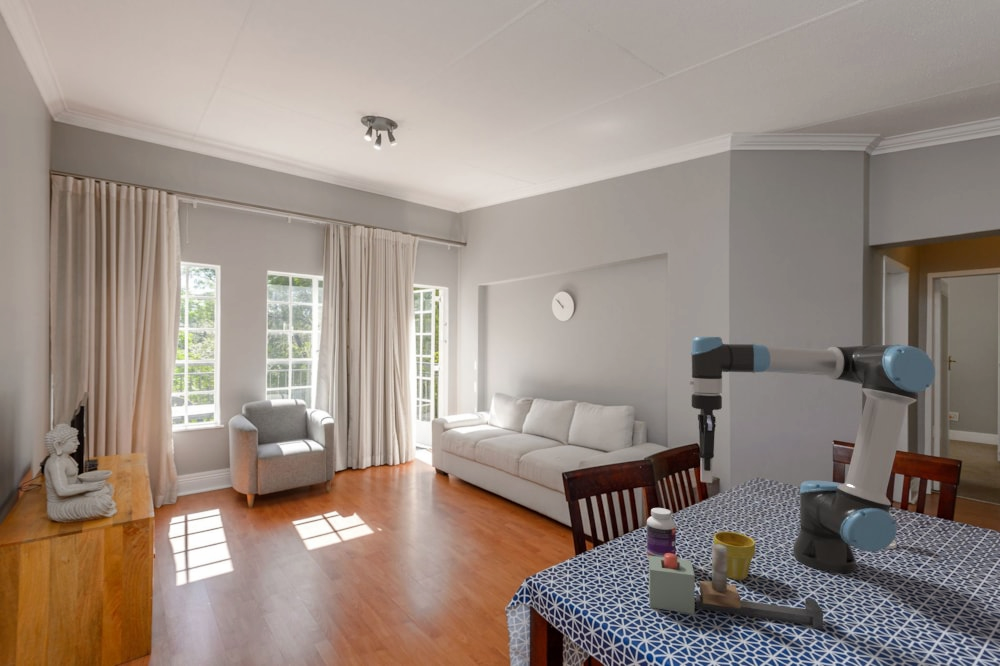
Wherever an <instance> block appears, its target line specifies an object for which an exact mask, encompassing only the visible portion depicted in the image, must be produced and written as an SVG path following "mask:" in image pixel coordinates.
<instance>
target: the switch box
mask: <svg viewBox="0 0 1000 666" xmlns="http://www.w3.org/2000/svg"><path fill="white" fill-rule="evenodd" d="M695 577H696V576H695V571H694V568H693V565H692V561H691V560H688V559H680V558H677V570H675V569H667V568H664V557H657V556H649V559H648V597H649V598H648V599H649V600H648V601H649V608H652V609H658V610H666V611H671V612H677V613H678V612H680V613H686V614H692V615H694V614H695V604H696V594H695V588H696V587H695V586H696V585H695Z"/></svg>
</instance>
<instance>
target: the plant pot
mask: <svg viewBox="0 0 1000 666" xmlns="http://www.w3.org/2000/svg"><path fill="white" fill-rule="evenodd" d="M715 544H718V545H723V546H725V547H726V548H727V578H729V579H733V580H737V581H741V580H745V579H747V578H748V575H749V571H750V566H751V563H752V559H753V558H754V557H755V556H756V542H755V540H754V539H753V538H751V536H747V535H746V534H744V533H739V532H736V531H735V532H734V531H725V530H724V531H718V532H716V533H714V535H713V545H715Z"/></svg>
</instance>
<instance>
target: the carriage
mask: <svg viewBox="0 0 1000 666" xmlns="http://www.w3.org/2000/svg"><path fill="white" fill-rule="evenodd" d="M711 557H712V558H711V578H712V579H711V581H705V580H703V581H702V580H699V592H700V593H699V594H700V595H701V597H702V601H703V603H705V604H712V605H719V606H726V607H734V608H740V600H741V595H740V594H739V591H738V589H737V587H736V585H735V584H728V577H727V548H726V547H725V546H723V545H718V544H715V545H714V544H713V545H712V547H711Z"/></svg>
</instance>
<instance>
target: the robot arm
mask: <svg viewBox="0 0 1000 666" xmlns="http://www.w3.org/2000/svg"><path fill="white" fill-rule="evenodd" d="M690 353H691V354H690V355H691V380H689V382H688V383H689V384H690V385H691V392H692V395H691V407H692V408H693V409H696V410H700V412H699V413H700V414H697V420H698V429H699V430H698V432H699V433H698V434H699V436H698V437H699V453H700V454H699V455H698V457H699V459H700V482H701V483H709V484H710V483H711V484H712V483H713V458H714V457H715V455H714V454H715V432H716V431H715V430H716V426H717V424H716V422H717V421H716V419H717V418H716V416H715V415H714V412H713V411H719V410H721V409H723V408H722V407H723V396H721V395H720V394H722V393H723V372H724V373H730V372H731V373H753V374H755V373H778V374H779V373H781V374H795V375H797V374H798V375H811V376H812V375H813V376H825V377H826V378H827V379H829V380H838V381H839V380H840V381H844V382H850V383H856V384H859V385H862V386H861V391H862V393H864V395H865V396H866V397H865V398H866V399H865V403H864V408H863V411H862V415H861V419H860V422H859V426H858V431H857V434H856V439H855V443H854V448H853V452H852V454H851V455H852V456H851V459H850V463H849V468H848V471H847V476H846V479H845V482H843V483H842V482H841V483H840V482H835V481H829V480H805V481H802V482H801V484H800V488H799V489H800V490H799V497H800V498H799V499H800V500H799V502H800V503H799V507H800V509H799V510H800V512H799V513H800V516H799V521H800V526H799V527H800V530H799V532H798V535H797V538H796V540H795V543H794V546H793V557H794V558H795V559H796V560H797V561H798V562H799V563H801V564H803V565H806V566H808V567H810V568H813V569H816V570H820V571H824V572H829V573H836V574H849V573H853V572H855V570H856V569H857V568H856V567H857V565H856V563H857V561H856V558H855V554H854V553H853V552H854V551H853V549H852V547H854V548H856V549H858V550H861V551H864V552H868V553H869V552H872V553H873V552H879V551H881V550H883V548H886V547H887V546H889V545H890V544H891V543H892V542H893V540H894V541H895V538H896V535H897V533H898V530H897V528H898V527H897V522H895V521H894V520H895V519H894V518H893V517H892V515H891V514H890V510H891V505H892V502H891V501H890V500H889V498H888V497H887V495H886V494H887V489H888V485H889V482H890V477H891V473H892V469H893V465H894V461H895V456H896V454H897V449H898V444H899V441H900V437H901V434H902V433H901V432H902V430H903V429H902V428H903V424H904V420H905V417H906V416H905V415H906V413H907V408H908V406H910V405H911V404H913V403H915V402H917V401H918V396H919V393H920V392H923V391H924V390H926V389H927V388H930V387H931V385H932V384H933V383H934V380H935V377H936V367H935V364H934V362H933V360H932V359H931V358H930V356H929V355H928V354H927V353H926V352H925V351H924V350H922V349H920V348H918V347H915V346H911V345H905V344H890V345H889V344H884V345H883V344H867V345H856V346H855V345H853V346H830V347H828V348H826V349H821V348H803V347H802V348H801V347H785V346H783V347H782V346H781V347H780V346H765V344H764V345H763V344H755V343H752V344H742V343H741V344H740V343H739V344H737V343H730V344H729V343H723V339H722V337H720V336H696V337H694V338H692V342H691V352H690Z"/></svg>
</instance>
